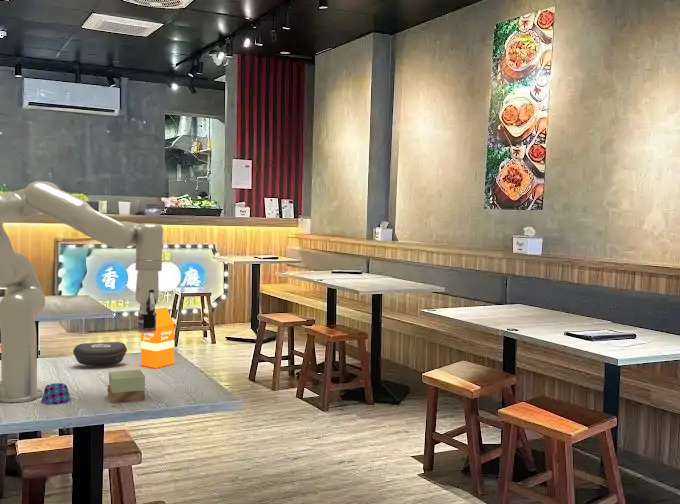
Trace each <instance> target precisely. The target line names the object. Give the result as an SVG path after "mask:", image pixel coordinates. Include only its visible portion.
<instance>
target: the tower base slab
mask: <svg viewBox="0 0 680 504" xmlns="http://www.w3.org/2000/svg"><path fill="white" fill-rule="evenodd" d="M145 391H146V389H145V390H142V391H130V392H118V393H112V390H111V388H110V386H109V384H108V385H107V397H108V398H109V401H110V402H111V403H112V404H121V403H130V402H139V401H145V400H146V399H145Z"/></svg>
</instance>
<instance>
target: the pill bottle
mask: <svg viewBox="0 0 680 504" xmlns="http://www.w3.org/2000/svg"><path fill="white" fill-rule="evenodd" d="M147 304H150V302H147ZM148 307H150V306H147V308H148ZM141 308H142V309H140V308H139V310H138V311H137V312H138V313H137V314H138V315H137V332H138V333H140V334H141V333H146V334H148V333H155V332H156V319H157V312H156V310H155V327H154V328H144V327H143V320H144V314H145V304H143V305H141Z"/></svg>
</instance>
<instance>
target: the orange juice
mask: <svg viewBox="0 0 680 504" xmlns="http://www.w3.org/2000/svg"><path fill="white" fill-rule="evenodd" d="M155 310H156V312H157V319H156V332H155V333H148V334H146V333H140V337H141V339H140V365H141V366H144V367H150V368H155V369H158V368H161V367H165V366H170V365H174V364H175V322H174V320H173V318H172V316H171V314H170V311H169V309H168V307H161V308H155Z"/></svg>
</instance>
